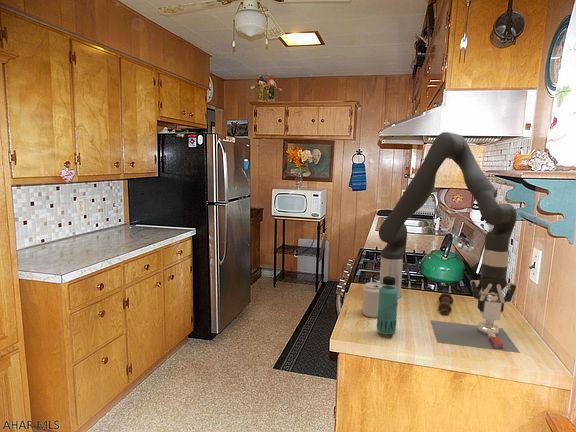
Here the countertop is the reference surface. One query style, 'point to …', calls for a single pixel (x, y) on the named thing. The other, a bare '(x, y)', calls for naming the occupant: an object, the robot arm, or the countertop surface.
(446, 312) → the bolt
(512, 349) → the tool mat
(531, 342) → the countertop surface
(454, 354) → the countertop surface
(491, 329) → the ratchet
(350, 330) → the countertop surface
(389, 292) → the beverage bottle
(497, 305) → the metal block with knob
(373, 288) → the can
